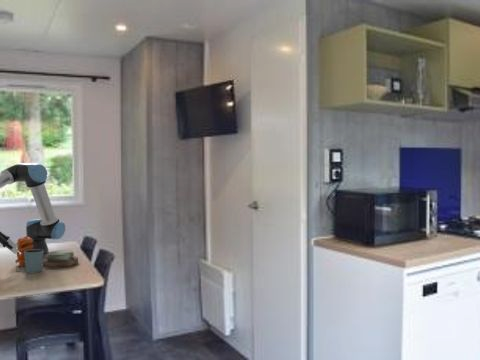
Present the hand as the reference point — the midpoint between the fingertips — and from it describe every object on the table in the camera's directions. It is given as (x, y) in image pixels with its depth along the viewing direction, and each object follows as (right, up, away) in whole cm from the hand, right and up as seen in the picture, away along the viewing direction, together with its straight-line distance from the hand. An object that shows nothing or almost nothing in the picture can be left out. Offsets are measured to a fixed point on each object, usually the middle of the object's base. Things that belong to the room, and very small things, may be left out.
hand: (16, 249), depth 252 cm
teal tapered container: (+8, -13, +5) cm, 16 cm away
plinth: (+16, -12, +22) cm, 30 cm away
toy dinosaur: (-5, -12, +20) cm, 24 cm away
